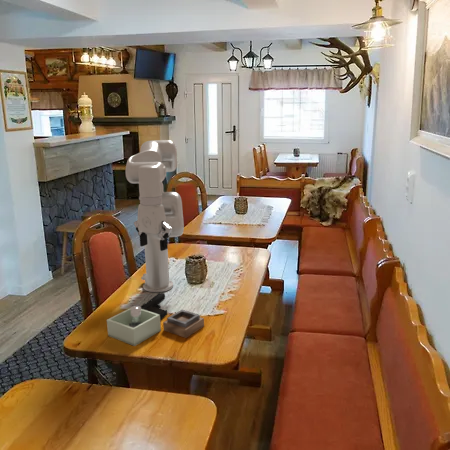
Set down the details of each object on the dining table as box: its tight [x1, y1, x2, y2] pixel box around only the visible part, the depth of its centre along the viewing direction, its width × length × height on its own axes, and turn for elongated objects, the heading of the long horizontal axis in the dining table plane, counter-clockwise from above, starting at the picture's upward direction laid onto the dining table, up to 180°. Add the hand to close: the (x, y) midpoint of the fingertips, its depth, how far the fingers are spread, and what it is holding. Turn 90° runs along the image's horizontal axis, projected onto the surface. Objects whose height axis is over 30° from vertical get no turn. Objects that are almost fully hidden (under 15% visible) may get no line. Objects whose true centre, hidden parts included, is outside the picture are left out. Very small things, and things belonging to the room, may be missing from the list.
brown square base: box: [162, 309, 205, 338], centre depth 163 cm, size 10×10×4 cm
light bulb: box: [129, 305, 141, 328], centre depth 160 cm, size 4×4×8 cm
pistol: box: [140, 292, 168, 321], centre depth 179 cm, size 3×20×11 cm
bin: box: [106, 307, 162, 347], centre depth 160 cm, size 13×13×6 cm
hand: (153, 247), depth 167 cm, fingers open, 9 cm apart
